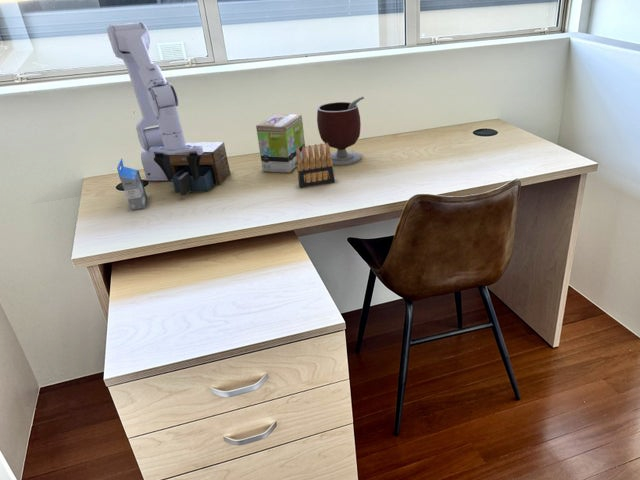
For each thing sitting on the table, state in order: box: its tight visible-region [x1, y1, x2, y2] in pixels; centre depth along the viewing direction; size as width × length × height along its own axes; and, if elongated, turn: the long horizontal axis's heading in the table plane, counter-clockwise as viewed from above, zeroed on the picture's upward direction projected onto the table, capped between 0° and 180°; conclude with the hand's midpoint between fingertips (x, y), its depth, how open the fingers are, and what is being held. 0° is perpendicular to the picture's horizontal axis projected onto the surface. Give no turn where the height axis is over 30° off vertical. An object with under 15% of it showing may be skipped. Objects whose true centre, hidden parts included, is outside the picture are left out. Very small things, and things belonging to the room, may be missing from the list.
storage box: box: [171, 166, 216, 197], centre depth 166 cm, size 10×16×6 cm, turn 176°
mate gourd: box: [316, 96, 365, 166], centre depth 181 cm, size 16×14×20 cm
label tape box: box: [116, 157, 148, 211], centre depth 156 cm, size 9×4×12 cm, turn 16°
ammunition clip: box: [296, 142, 336, 189], centre depth 164 cm, size 11×2×12 cm, turn 111°
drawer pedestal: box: [169, 141, 231, 186], centre depth 171 cm, size 12×14×10 cm
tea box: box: [255, 113, 306, 173], centre depth 180 cm, size 15×10×15 cm
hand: (183, 179), depth 161 cm, fingers open, 7 cm apart
